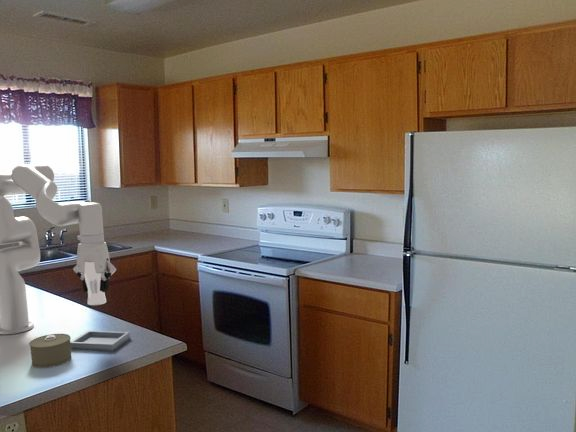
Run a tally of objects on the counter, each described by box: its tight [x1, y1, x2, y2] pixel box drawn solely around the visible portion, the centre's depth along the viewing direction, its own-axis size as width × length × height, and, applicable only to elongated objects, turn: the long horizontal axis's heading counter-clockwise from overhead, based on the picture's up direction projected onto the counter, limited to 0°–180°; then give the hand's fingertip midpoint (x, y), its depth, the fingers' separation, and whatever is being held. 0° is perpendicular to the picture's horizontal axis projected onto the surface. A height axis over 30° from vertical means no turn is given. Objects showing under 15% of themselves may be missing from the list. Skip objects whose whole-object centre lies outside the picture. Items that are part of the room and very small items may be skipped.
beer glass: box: [84, 262, 107, 306], centre depth 177 cm, size 7×7×15 cm
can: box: [29, 333, 72, 369], centre depth 166 cm, size 12×12×7 cm
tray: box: [70, 330, 131, 352], centre depth 180 cm, size 16×12×2 cm
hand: (96, 290), depth 177 cm, fingers closed on beer glass, 6 cm apart
